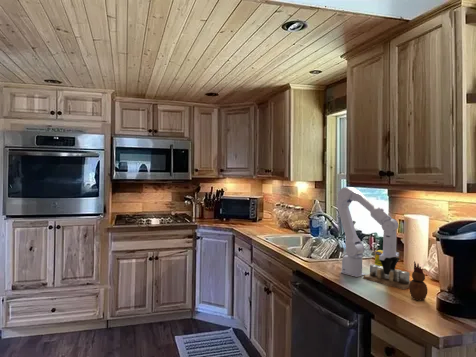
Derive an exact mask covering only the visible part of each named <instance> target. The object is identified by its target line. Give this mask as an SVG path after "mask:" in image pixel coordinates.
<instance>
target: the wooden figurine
mask: <svg viewBox="0 0 476 357" xmlns="http://www.w3.org/2000/svg"><path fill="white" fill-rule="evenodd" d="M411 278H412V279H411V280H410V281H411V282H410V284H409V288H408V289H409V290H408V291H409V294H410V297H411V298H412V299H414V300H416V301H421V302H422V301H425V299H426V297H427V296H428V286H427V283H425V282H424V281H426V275H425V273H424V270H423V268H422V266H419V263H417V264H416V261H414V262H413V271H412V272H411Z"/></svg>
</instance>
